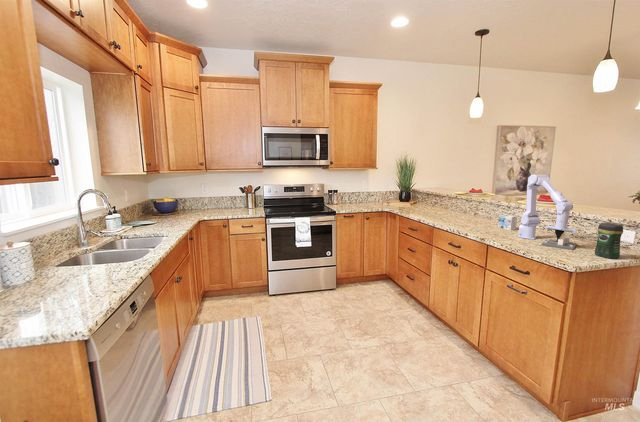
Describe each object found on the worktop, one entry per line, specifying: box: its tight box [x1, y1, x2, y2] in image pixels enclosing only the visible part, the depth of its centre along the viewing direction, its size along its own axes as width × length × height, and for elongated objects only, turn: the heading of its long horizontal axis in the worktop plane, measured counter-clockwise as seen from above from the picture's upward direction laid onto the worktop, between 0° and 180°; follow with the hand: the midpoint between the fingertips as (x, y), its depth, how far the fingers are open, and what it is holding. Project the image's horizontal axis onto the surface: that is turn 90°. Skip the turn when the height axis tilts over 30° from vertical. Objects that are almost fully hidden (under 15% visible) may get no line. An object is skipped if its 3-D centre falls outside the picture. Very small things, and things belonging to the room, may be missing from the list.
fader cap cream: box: [558, 237, 564, 245], centre depth 181 cm, size 2×3×4 cm
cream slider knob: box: [563, 236, 571, 244], centre depth 185 cm, size 2×3×4 cm
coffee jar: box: [594, 222, 624, 260], centre depth 160 cm, size 10×8×19 cm
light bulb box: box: [497, 214, 518, 231], centre depth 232 cm, size 11×7×11 cm, turn 25°
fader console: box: [541, 238, 578, 251], centre depth 185 cm, size 15×18×2 cm
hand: (558, 242), depth 182 cm, fingers closed, pressing on fader cap cream
